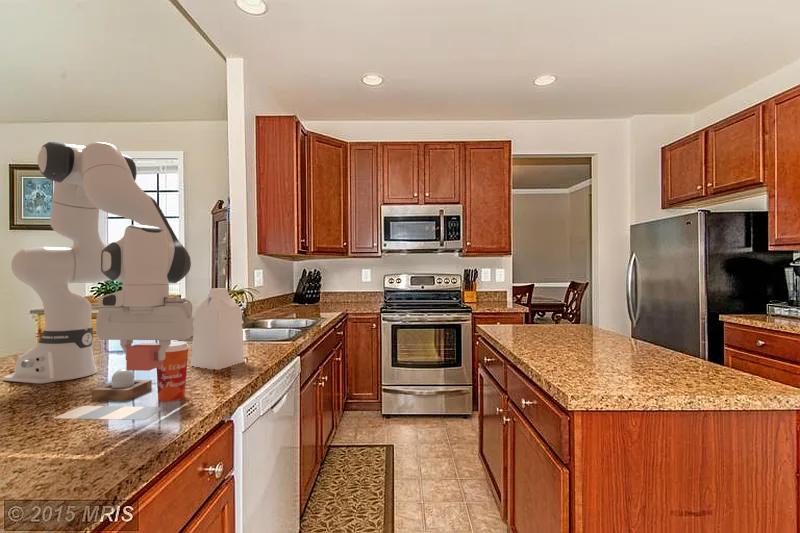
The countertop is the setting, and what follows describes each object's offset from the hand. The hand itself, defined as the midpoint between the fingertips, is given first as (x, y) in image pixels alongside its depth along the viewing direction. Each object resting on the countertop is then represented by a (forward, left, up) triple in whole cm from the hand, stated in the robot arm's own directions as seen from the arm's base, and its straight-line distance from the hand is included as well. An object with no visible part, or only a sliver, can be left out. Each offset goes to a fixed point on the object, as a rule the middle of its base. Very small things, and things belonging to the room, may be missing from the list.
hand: (145, 360), depth 90 cm
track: (-8, 0, -12) cm, 15 cm away
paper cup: (-1, +11, -13) cm, 17 cm away
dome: (-15, +13, -12) cm, 23 cm away
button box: (-15, +13, -12) cm, 23 cm away
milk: (-8, +49, -13) cm, 51 cm away
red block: (0, 0, -2) cm, 2 cm away
